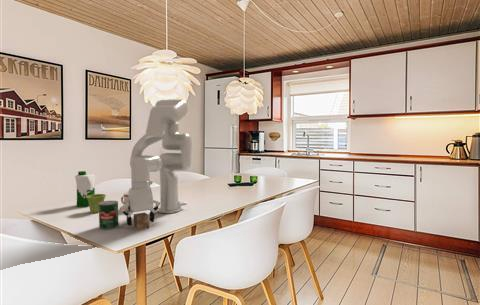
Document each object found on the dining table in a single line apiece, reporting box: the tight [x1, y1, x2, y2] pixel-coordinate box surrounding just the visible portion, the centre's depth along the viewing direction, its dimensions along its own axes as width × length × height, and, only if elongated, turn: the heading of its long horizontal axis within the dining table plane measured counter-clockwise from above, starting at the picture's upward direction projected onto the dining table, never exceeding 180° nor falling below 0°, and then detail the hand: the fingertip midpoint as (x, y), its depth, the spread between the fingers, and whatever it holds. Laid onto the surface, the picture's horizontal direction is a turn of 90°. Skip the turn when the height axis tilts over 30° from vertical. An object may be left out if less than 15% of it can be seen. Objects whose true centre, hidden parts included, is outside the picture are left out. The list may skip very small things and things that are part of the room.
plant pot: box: [86, 193, 107, 214], centre depth 150 cm, size 9×9×9 cm
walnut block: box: [133, 211, 150, 231], centre depth 124 cm, size 5×5×6 cm
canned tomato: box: [98, 200, 120, 231], centre depth 125 cm, size 8×8×11 cm
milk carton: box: [74, 170, 96, 208], centre depth 164 cm, size 9×9×20 cm
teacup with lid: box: [120, 191, 129, 212], centre depth 155 cm, size 12×9×12 cm
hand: (141, 223), depth 124 cm, fingers open, 9 cm apart
